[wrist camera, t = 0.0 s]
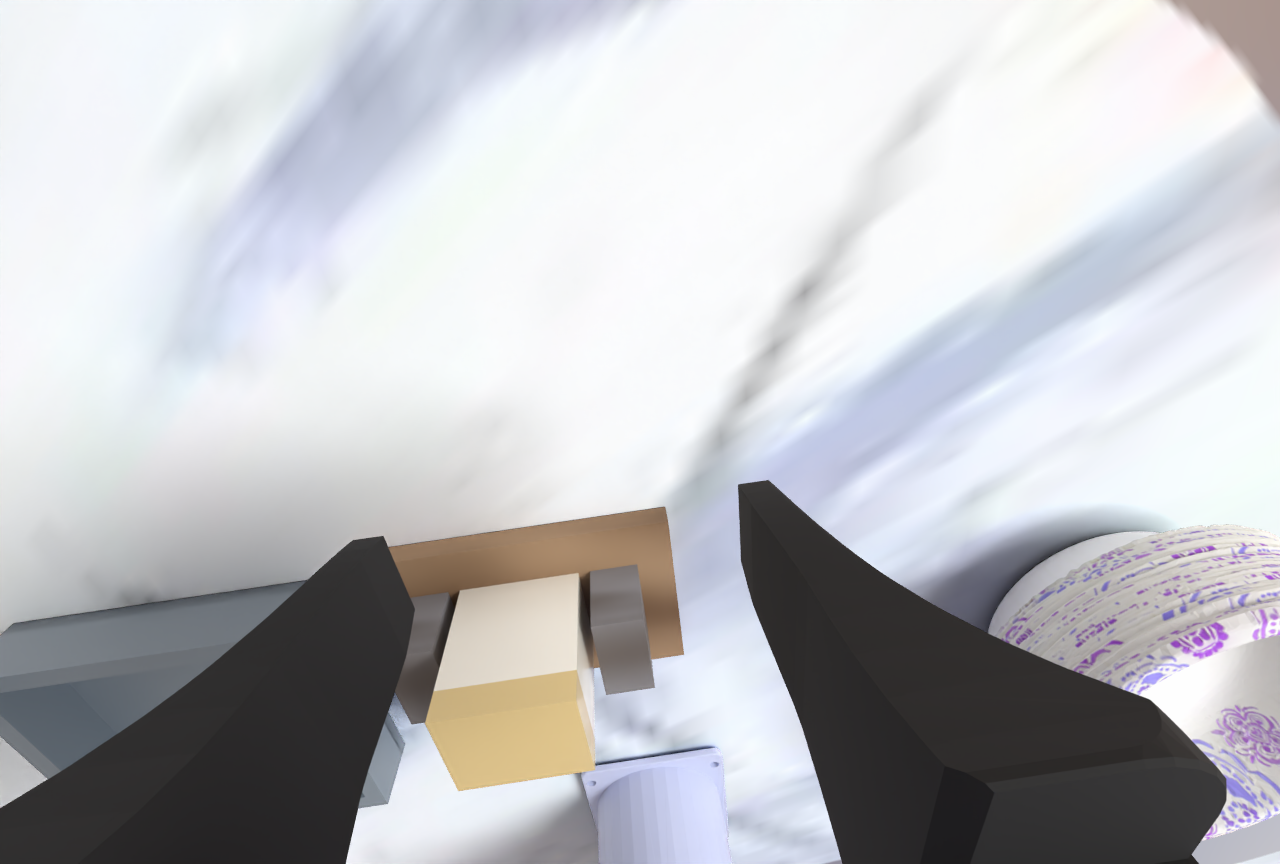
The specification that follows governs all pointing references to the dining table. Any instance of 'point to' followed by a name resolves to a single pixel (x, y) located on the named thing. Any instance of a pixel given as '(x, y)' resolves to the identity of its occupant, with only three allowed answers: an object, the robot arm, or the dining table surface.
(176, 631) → the tray
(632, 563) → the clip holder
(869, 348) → the dining table surface
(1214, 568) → the white bowl
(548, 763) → the white and tan block
